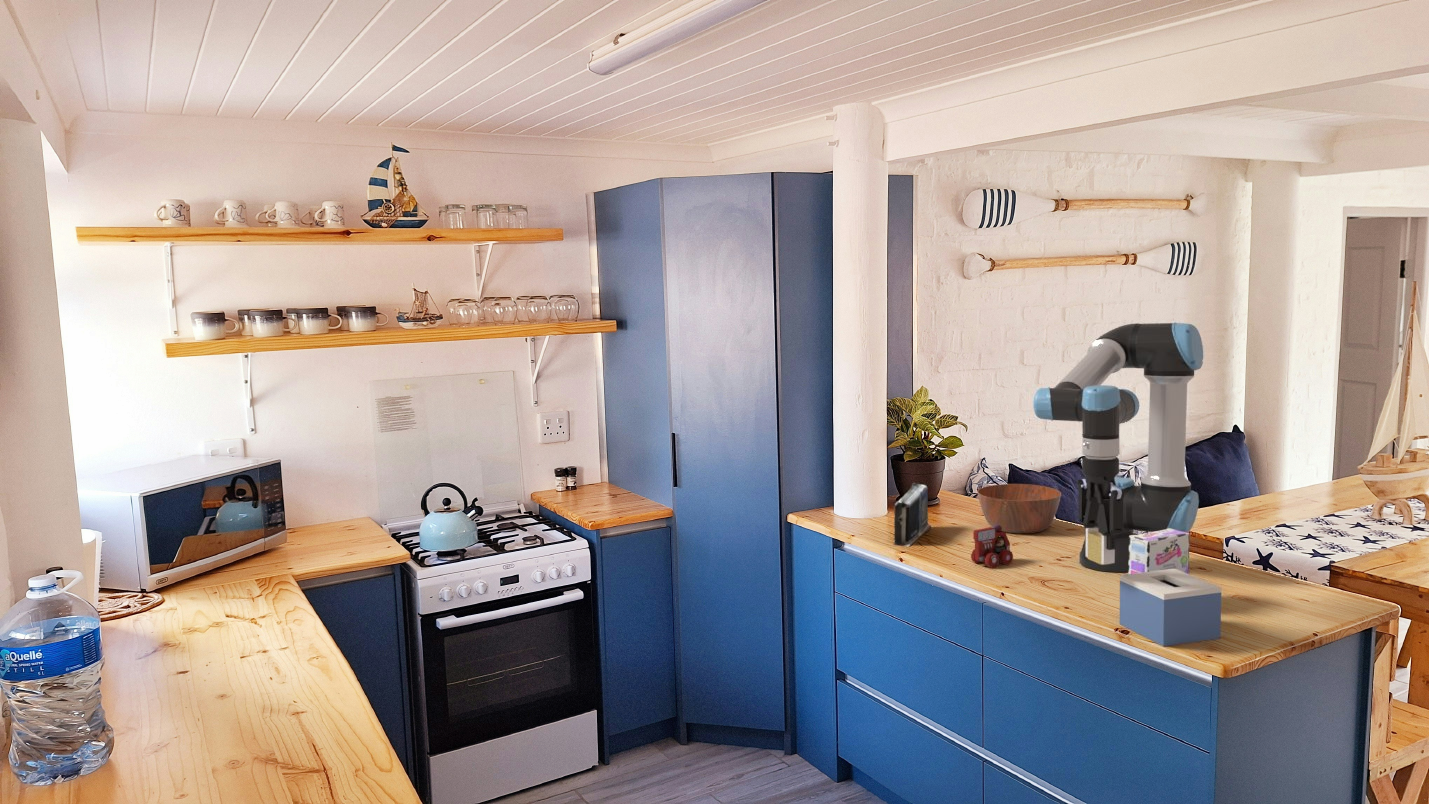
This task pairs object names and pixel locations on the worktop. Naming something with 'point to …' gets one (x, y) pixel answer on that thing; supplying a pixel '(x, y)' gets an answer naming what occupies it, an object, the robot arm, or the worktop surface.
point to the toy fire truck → (991, 547)
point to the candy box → (1159, 551)
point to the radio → (911, 516)
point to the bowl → (1019, 507)
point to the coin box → (1170, 606)
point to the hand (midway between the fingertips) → (1099, 559)
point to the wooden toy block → (1095, 547)
